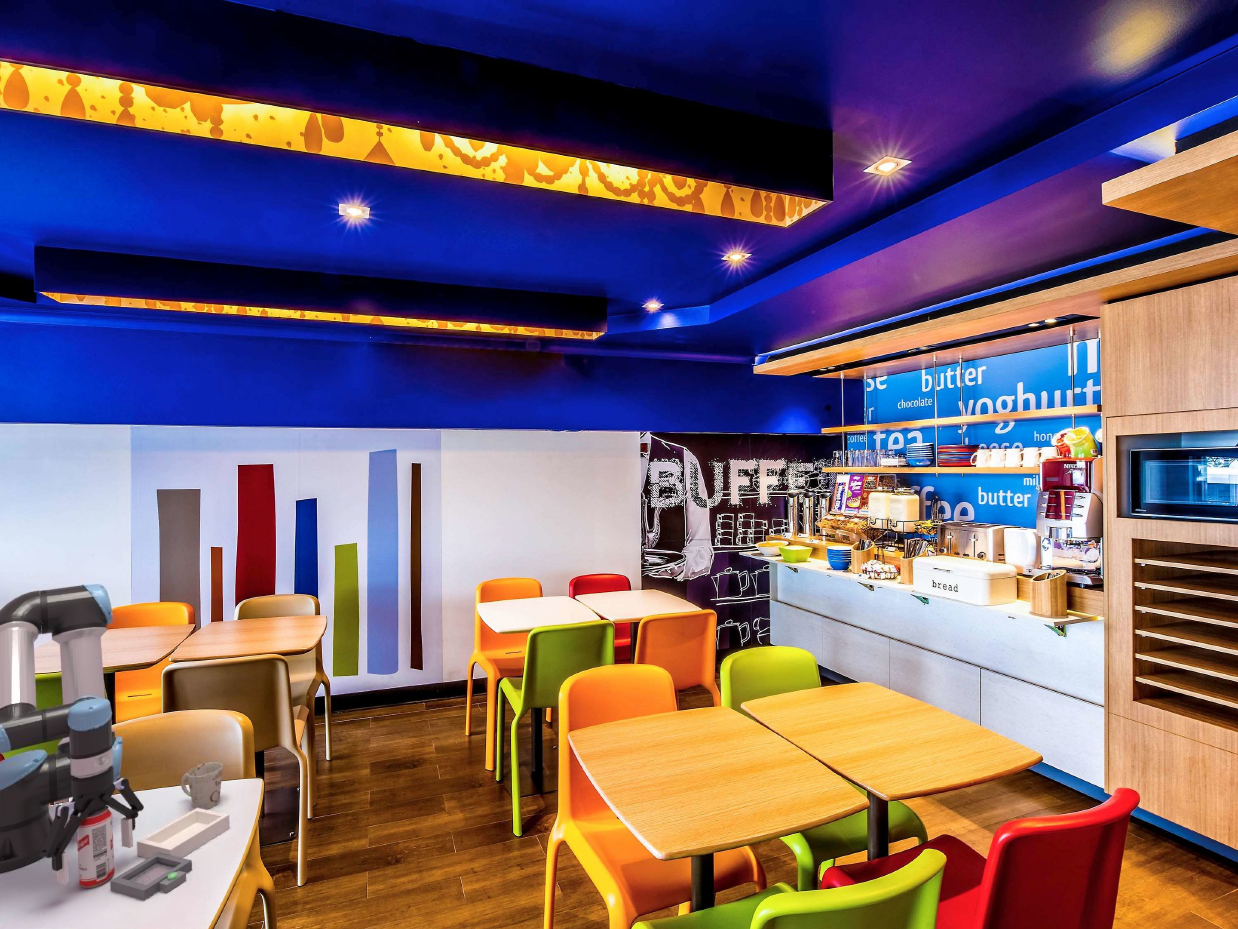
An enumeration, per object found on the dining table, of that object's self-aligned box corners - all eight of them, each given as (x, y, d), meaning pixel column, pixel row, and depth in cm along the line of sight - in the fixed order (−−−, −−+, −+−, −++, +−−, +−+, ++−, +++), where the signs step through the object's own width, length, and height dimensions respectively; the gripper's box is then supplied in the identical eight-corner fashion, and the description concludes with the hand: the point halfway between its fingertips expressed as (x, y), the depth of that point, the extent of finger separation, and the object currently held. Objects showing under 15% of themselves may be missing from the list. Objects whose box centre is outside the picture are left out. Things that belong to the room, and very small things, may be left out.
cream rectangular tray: (137, 856, 156) (136, 841, 156) (197, 821, 171) (197, 807, 171) (171, 864, 153) (170, 850, 152) (229, 828, 167) (229, 814, 167)
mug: (206, 814, 174) (205, 777, 174) (167, 810, 176) (166, 774, 176) (231, 798, 182) (229, 763, 182) (193, 794, 185) (192, 759, 184)
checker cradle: (110, 890, 144) (110, 879, 144) (159, 861, 154) (158, 850, 154) (152, 903, 139) (151, 891, 139) (199, 871, 150) (199, 861, 150)
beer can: (86, 893, 143) (82, 822, 143) (74, 884, 146) (71, 814, 146) (119, 877, 148) (116, 808, 148) (107, 868, 152) (104, 801, 151)
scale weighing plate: (124, 886, 145) (124, 882, 145) (156, 866, 152) (156, 863, 152) (147, 892, 143) (147, 889, 143) (178, 872, 149) (178, 869, 149)
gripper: (38, 801, 134) (43, 903, 134) (158, 748, 157) (162, 835, 158) (15, 796, 136) (20, 896, 137) (137, 744, 160) (141, 830, 160)
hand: (96, 863), depth 147 cm, fingers open, 13 cm apart
